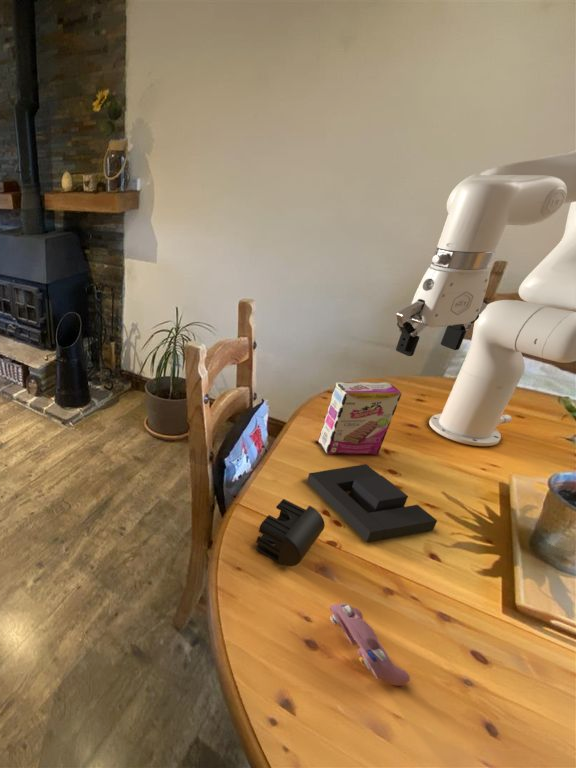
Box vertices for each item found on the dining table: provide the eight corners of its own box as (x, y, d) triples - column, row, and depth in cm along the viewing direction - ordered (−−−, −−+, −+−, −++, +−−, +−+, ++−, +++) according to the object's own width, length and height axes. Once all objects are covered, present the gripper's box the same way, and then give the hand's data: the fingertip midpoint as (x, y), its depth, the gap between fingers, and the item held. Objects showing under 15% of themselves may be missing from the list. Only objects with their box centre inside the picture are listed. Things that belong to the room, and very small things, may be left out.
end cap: (295, 576, 68) (303, 547, 65) (253, 550, 73) (259, 523, 70) (319, 542, 74) (328, 514, 70) (279, 520, 78) (286, 493, 75)
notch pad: (362, 473, 88) (366, 463, 87) (432, 530, 74) (437, 520, 73) (306, 482, 87) (309, 472, 86) (366, 542, 73) (370, 532, 72)
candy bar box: (327, 455, 94) (345, 392, 86) (317, 442, 98) (334, 381, 91) (380, 456, 93) (403, 392, 85) (368, 442, 97) (389, 380, 90)
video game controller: (330, 624, 62) (319, 600, 59) (359, 612, 62) (350, 587, 58) (379, 698, 54) (370, 675, 50) (415, 685, 53) (407, 661, 50)
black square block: (375, 490, 84) (381, 475, 82) (401, 512, 78) (408, 496, 77) (348, 495, 83) (354, 479, 81) (373, 517, 78) (379, 501, 76)
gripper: (437, 268, 67) (403, 363, 75) (529, 258, 69) (486, 352, 77) (397, 260, 74) (370, 348, 82) (482, 251, 76) (447, 338, 84)
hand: (426, 350), depth 79 cm, fingers open, 9 cm apart
